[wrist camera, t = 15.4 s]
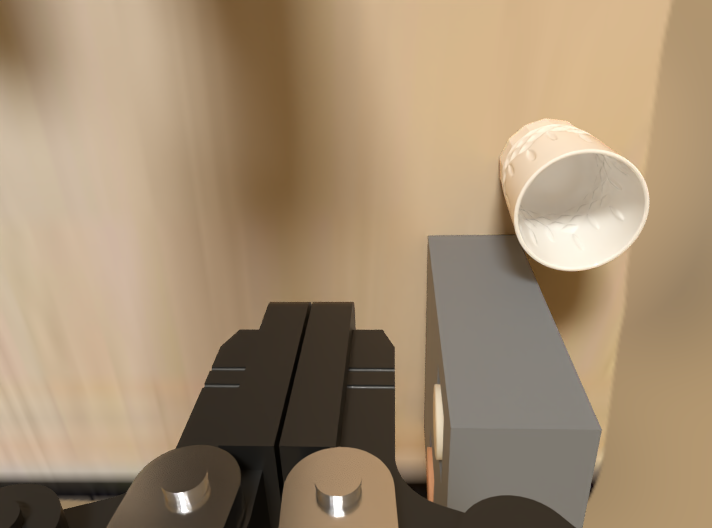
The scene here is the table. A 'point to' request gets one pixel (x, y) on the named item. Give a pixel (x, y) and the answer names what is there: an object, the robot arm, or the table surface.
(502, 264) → the button console
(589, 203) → the white cup
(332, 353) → the robot arm
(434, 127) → the table surface
